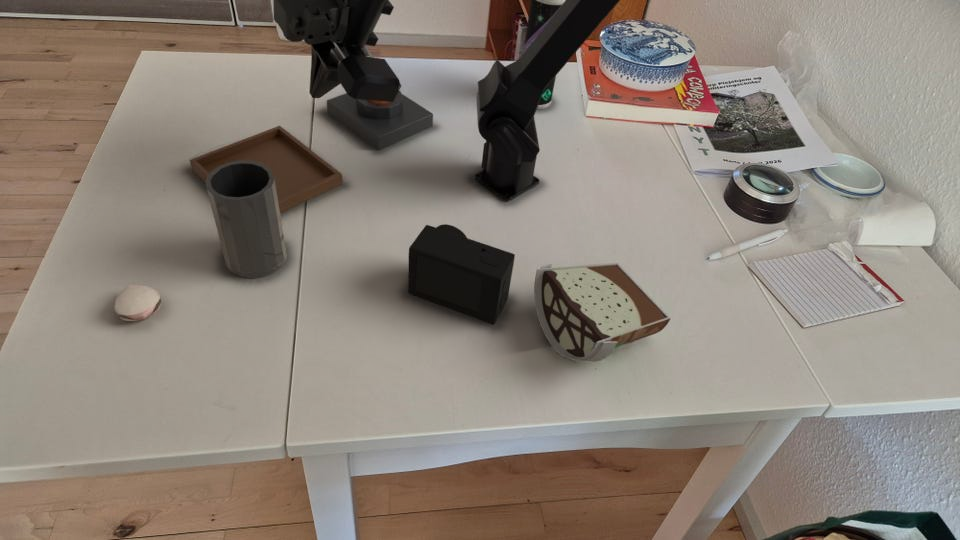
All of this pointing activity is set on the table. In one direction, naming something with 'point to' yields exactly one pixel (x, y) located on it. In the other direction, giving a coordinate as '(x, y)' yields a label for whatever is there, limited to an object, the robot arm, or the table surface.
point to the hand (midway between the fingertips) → (314, 96)
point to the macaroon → (137, 302)
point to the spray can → (540, 13)
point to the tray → (277, 165)
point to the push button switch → (380, 118)
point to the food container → (593, 309)
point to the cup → (247, 218)
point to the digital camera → (459, 272)
